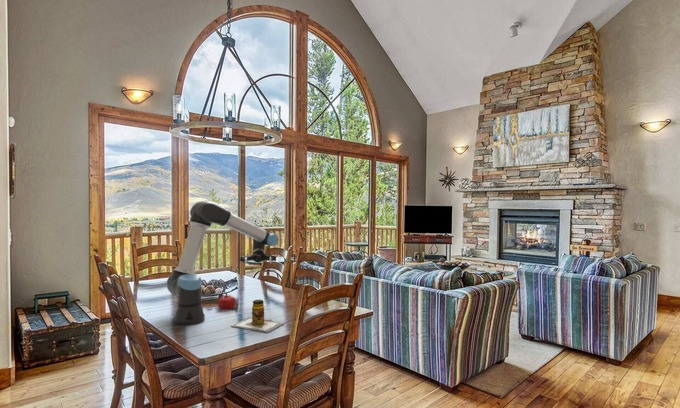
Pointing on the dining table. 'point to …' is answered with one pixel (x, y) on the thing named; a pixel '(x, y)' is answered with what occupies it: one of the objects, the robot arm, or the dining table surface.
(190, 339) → the dining table surface
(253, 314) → the condiment
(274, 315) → the dining table surface
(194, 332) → the dining table surface
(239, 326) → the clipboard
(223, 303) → the pomegranate
